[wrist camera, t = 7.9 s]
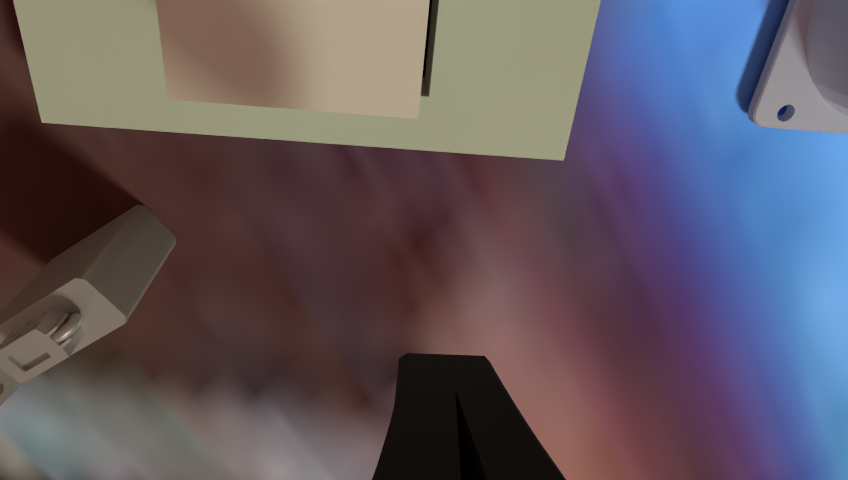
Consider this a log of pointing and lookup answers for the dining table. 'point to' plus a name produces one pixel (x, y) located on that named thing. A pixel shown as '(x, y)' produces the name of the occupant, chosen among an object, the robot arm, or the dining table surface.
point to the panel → (433, 130)
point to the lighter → (81, 295)
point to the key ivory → (296, 53)
